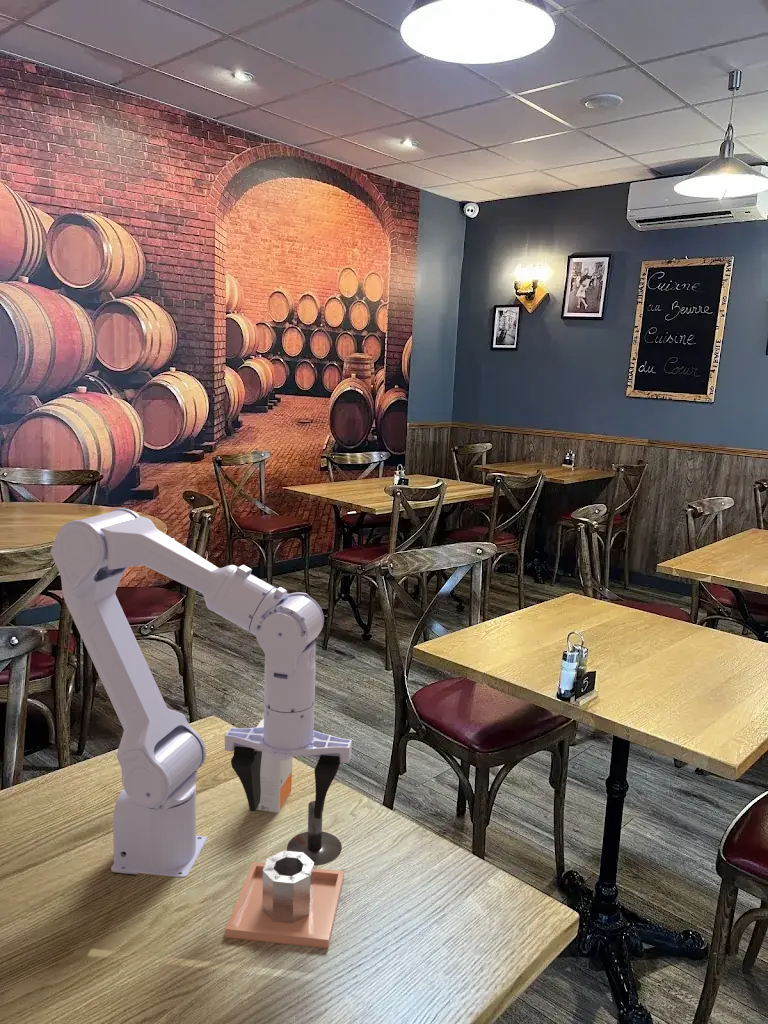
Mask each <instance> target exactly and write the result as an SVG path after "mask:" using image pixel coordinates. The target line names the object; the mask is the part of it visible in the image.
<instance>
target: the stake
mask: <svg viewBox="0 0 768 1024" xmlns="http://www.w3.org/2000/svg"><path fill="white" fill-rule="evenodd" d="M307 806H308V807H307V810H308V811H307V812H308V813H307V817H308V818H307V831H304V832H301V833H298V834H297V835H295V836H293V837H292V838H291V839H290V840H289V842H288V843H287V846H286V851H294V852H303V853H304V854H306V855H307V856H308V857H309V858H310V859H311V860H312V861H313V862H314V866H322V865H325V864H328V863H330V862H334V860H336V859H337V858H338V857H339V856H340V855H341V853H342V849H343V846H342V843H341V840H339V838H338V837H336V835H333V834H332V833H329V832H327V831H323V814H322V815H321V818H320V819H317V818H314V807H315V800H312V801H310V802H309V803H308V805H307Z"/></svg>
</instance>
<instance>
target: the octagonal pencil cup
mask: <svg viewBox="0 0 768 1024" xmlns="http://www.w3.org/2000/svg"><path fill="white" fill-rule="evenodd" d="M314 868H315V865H314V862H313V861H312V860H311V859H310V858H309V857H308V856H307V855H306V854H304V853H303V852H294V851H287V850H283V851H280V852H278V853H276V854H274V855H270V856H269V857H267V859H266V861H265V866H264V869H263V894H262V910H263V911H264V913H265V914H266V915H267V916H268V917H269V918H270V919H271V920H272V921H273V922H282V923H291V924H292V923H295V922H297V921H299V920H301V919H303V918H305V917H307V916H308V915H310V911H311V907H312V904H313V886H314Z"/></svg>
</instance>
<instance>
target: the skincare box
mask: <svg viewBox="0 0 768 1024" xmlns="http://www.w3.org/2000/svg"><path fill="white" fill-rule="evenodd" d="M256 727H264V717H263V718H262V719H261V720H260V721H259V722H258V723H257V726H256ZM292 783H293V757H291V758H290V759H289V760H275V759H272V754H269V753H266V752H262V758H261V770H260V784H261V796H260V803H259V805H258V807H257V809H256V811H257V810H259V811H264V812H272V813H275V814H276V813H280V811H281V809H282V807H283V805H284V804H285V802H286V801H287V799H288V797H289V795H290V794H291V792H292V785H293V784H292Z"/></svg>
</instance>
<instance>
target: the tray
mask: <svg viewBox="0 0 768 1024" xmlns="http://www.w3.org/2000/svg"><path fill="white" fill-rule="evenodd" d="M265 863H266V862H265ZM265 863H264V862H263V863H262V862H254V861H253V862H252V864H251V866H250V869H249V871H248V873H247V876H246V878H245V881H244V883H243V886H242V888H241V889H240V892H239V895H238V896H237V900H236V902H235V905H234V907H233V909H232V912H231V914H230V917H229V919H228V921H227V924H226V926H225V929H224V935H225V936H224V938H227V939H236V940H237V939H238V940H244V941H245V940H247V941H255V942H256V941H257V942H264V943H272V944H273V943H274V944H284V945H293V946H301V947H310V948H321V949H327V950H328V949H329V948H330V942H331V938H332V934H333V929H334V924H335V920H336V916H337V911H338V907H339V904H340V903H339V901H340V899H341V898H340V897H341V893H342V888H343V884H344V881H345V871H343V870H333V869H327V868H326V869H325V868H315V867H314V886H313V904H312V907H311V911H310V915H308V916H307V917H305V918H303V919H301V920H299V921H297V922H295V923H292V924H291V923H282V922H273V921H272V920H271V919H270V918H269V917H268V916H267V915H266V914H265V913H264V911H263V910H262V894H263V869H264V866H265Z"/></svg>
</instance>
